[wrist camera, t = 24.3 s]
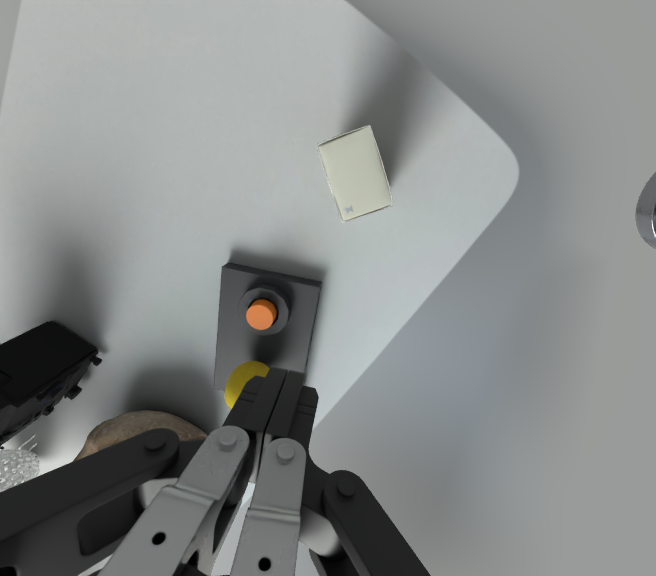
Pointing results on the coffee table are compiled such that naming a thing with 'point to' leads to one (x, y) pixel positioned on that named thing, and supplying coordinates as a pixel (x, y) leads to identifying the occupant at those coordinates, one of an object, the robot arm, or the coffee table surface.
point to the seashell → (137, 429)
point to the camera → (39, 374)
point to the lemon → (242, 379)
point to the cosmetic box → (355, 173)
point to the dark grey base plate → (274, 342)
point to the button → (261, 314)
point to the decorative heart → (21, 456)
